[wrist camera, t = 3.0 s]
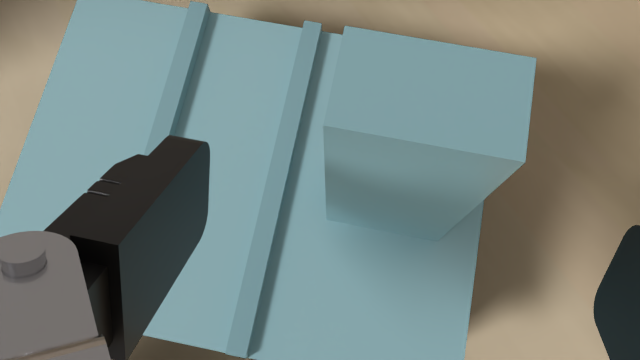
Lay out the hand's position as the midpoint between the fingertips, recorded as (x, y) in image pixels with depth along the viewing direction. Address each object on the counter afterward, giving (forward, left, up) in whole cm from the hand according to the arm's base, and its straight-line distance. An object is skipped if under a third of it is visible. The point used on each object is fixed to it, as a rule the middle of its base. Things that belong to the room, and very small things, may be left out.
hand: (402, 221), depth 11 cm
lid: (-5, 0, -7) cm, 9 cm away
